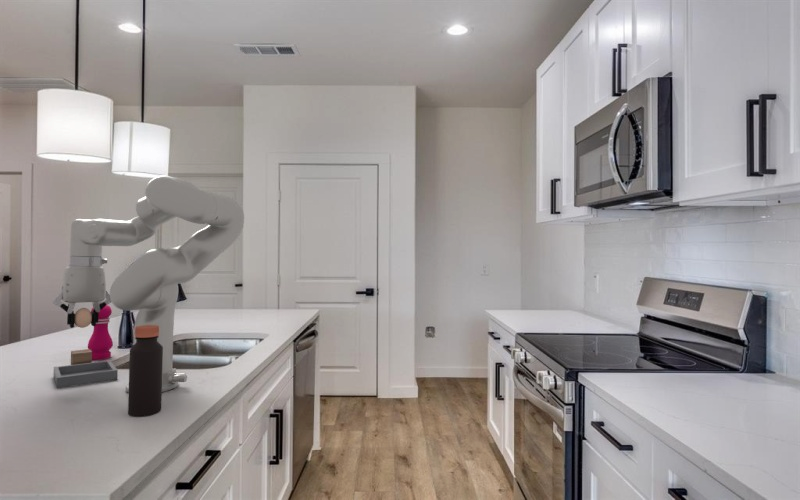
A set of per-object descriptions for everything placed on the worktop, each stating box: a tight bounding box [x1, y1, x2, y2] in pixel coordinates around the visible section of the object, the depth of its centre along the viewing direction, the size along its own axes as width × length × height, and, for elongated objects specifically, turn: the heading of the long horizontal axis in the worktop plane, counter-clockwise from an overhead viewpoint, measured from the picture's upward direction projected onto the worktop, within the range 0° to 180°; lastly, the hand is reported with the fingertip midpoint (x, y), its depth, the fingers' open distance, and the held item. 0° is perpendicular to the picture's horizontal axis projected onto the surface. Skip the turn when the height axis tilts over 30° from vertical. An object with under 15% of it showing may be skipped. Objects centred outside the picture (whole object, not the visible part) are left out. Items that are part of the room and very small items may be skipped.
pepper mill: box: [87, 300, 114, 361], centre depth 155 cm, size 7×7×20 cm
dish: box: [53, 360, 119, 389], centre depth 131 cm, size 14×14×3 cm
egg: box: [74, 307, 92, 329], centre depth 129 cm, size 4×4×6 cm
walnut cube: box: [70, 348, 93, 365], centre depth 143 cm, size 5×5×5 cm
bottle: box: [127, 325, 163, 418], centre depth 105 cm, size 7×7×20 cm
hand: (82, 325), depth 129 cm, fingers closed on egg, 4 cm apart
